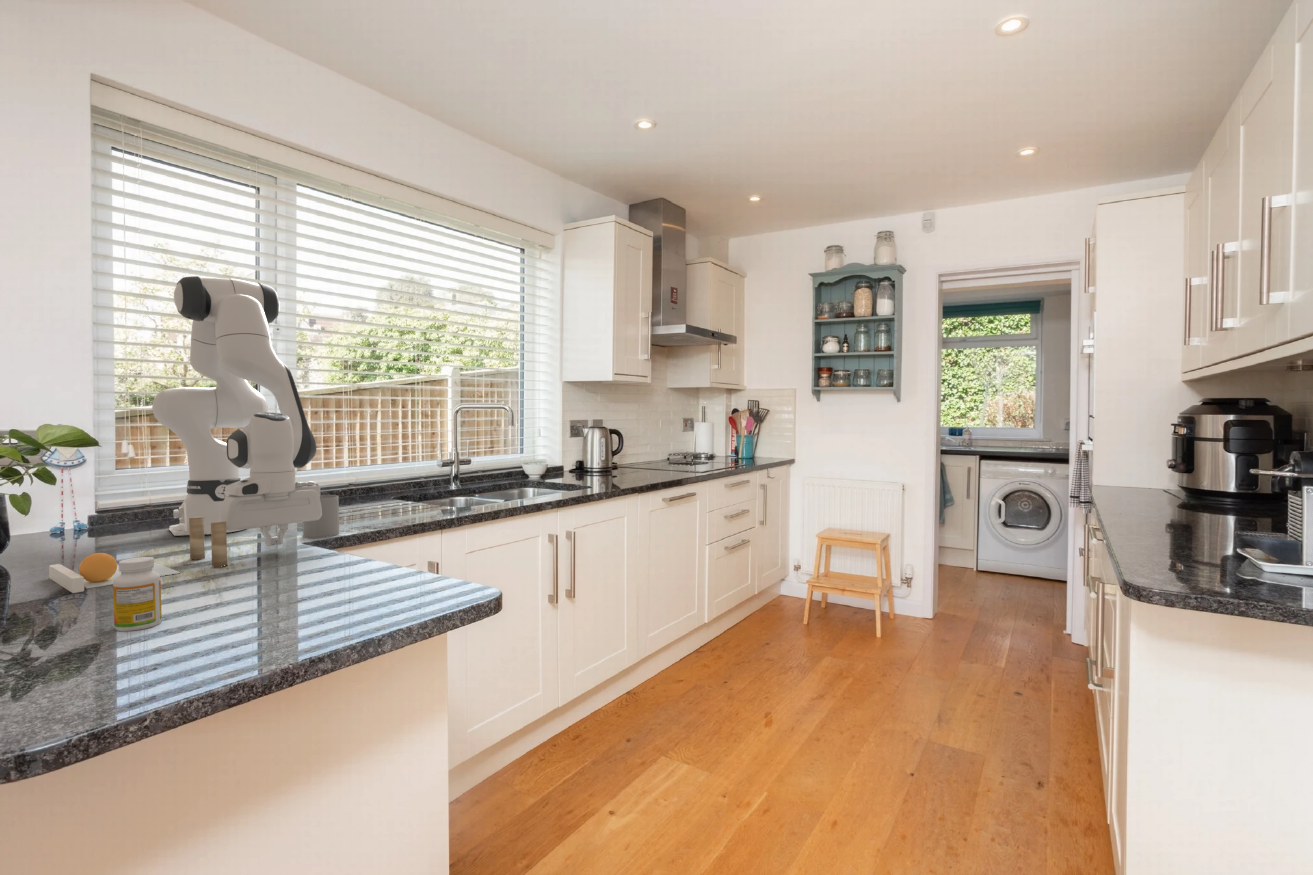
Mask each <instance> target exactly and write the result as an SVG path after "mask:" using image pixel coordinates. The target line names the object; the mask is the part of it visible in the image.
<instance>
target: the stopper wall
mask: <svg viewBox="0 0 1313 875" xmlns="http://www.w3.org/2000/svg"><path fill="white" fill-rule="evenodd" d="M48 570H49V571H48V572H49V579H50V580H51V581H53V582H55V583H56V584H58V585H59V586H61V587H62V588H64V589H65V590H67V591H69V592H70V593H71V594H75V593H83V592H85V587H84V577H82V576H81V575H80V573H77V572H75V571H73V570H72V569H69V568H68V567H66V566H65V565H62V564H61V563H56V564H49V565H48Z"/></svg>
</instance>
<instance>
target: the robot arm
mask: <svg viewBox="0 0 1313 875" xmlns="http://www.w3.org/2000/svg"><path fill="white" fill-rule="evenodd" d="M173 291H174V292H173V301H174V305H175V306H176V309H177V312H178V314H180V315H181V316H182V317H183V318H186V319H188V320H192V324H191V325H192V326H191V332H190V336H191V337H190V350H189V351H190V352H189V363H190V366H191V368H192V369H193V370H194V371H195V372H197V373H198V374H200V375H202V376H203V377H205V378H208V379H210V380H212V381H215V383H216V385H215V386H214V387H213V386H212V387H202V386H201V387H199V386H198V387H195V386H180V387H173V388H165V389H162V390H161V391H159V392H158V393H157V394H156V396H155V397H154V399H153V401H152V409H151V410H152V413H153V416H154V418H155V419H156V421H157V422H158V423H160V425H162V426H163V427H165V428H167V429H169V430H170V431H171V432H172V433H173V434H175V435H176V436H177V437H178V438H179V439H180V441H181V442H182V444H183V446H184V448H185V450H186V454H187V460H188V461H187V462H188V470H189V471H188V472H189V475H188V476H189V479H188V481H187V483H186V484H187V485H186V494H187V495H186V497H185V499H184V500H183V502H182V503H181V505H180V506H179V507H178V509H174V510H172V515H173V516H172V517H173V518H174V519H178V524H172V525H169V527H168V530H169V531H170V532H171V534H172V535H173V536H190V534H189V518H190V517H204V536H205V535H211V523H213V522H226V533H232V532H233V533H234V532H238V531H239V532H240V531H243V530H248V529H256V528H258V529H259V531H260V533H261V534H262V536H263V537H264V538H265V544H266V547H272V546H277V545H278V546H279V545H283V544H284V536H285V535H286V533H287V532H288V530H289V524H296V523H303V522H306V521H314V520H319V519H320V517H321V516H322V508H321V502H320V495H321V486H320V485H319V484H318V483H316V482H315V481H312V480H310V481H304V482H303V481H301V482H300V481H298V482H297V481H296V469H301V468H304V467H305V466H306V465H308V464H309V463H310V462H311V461H312V460H313V459H314V457H315V456H316V453H317V443H316V438H315V436H314V434H313V432H312V431H311V428H310V425H309V423H308V422H307V417H306V414H305V411H304V408H303V405H302V402H301V398H300V395H299V392H298V388H297V385H296V382H295V379H294V376H293V374H292V372H291V370H290V367H289V366H288V365H287V364H286V363H284V362H282V361H281V360H280V358H278V356H277V354H276V352H275V350H274V348H273V345H272V340H271V332H270V328H269V324H271V323H273V322H274V321H276V320H277V319H278V317H279V313H280V306H281V305H280V300H279V295H278V293H277V291H276V290H275V289H274V287H272V286H271V285H268V284H265V283H262V282H251V281H246V280H242V279H238V278H237V279H236V278H229V277H228V278H223V277H222V278H218V277H200V276H197V275H195V276H183V277H182V278H180V279H179V280H178V281H177V282H176V286H175V288H174V290H173ZM249 382H251V383H254V384H256V385H259V386H261V387H263V388H264V389H267V390H268V391H269V392H270V393H271V394H272V395H273V396H274V398H275V400H276V402H277V406H278V409H279V412H268V410H269V408H268V402H267V400H266V398H265V397H264V395H263V394H262V393H260V392H259V391H258V390H257V389H255V388H254V387H253V386H251V384H250V383H249ZM230 428H231V429H233V428H235V430H234V431H233V432H232V433H231V434H230V435H228V437H227V439H226V442H225V441H223V440H221V439H218V438H216V437H214V435H213V433H212V429H230ZM241 468H242V469H249V477H246V478H244V479H241V477H240V476H239V474H240V473H239V472H240V471H239V469H241ZM274 526H277V529H279V530H278V532H277V535H275V536H272V535H271V534H270V533H269V532H271V531H272V528H271V527H274Z"/></svg>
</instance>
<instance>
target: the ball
mask: <svg viewBox="0 0 1313 875" xmlns="http://www.w3.org/2000/svg"><path fill="white" fill-rule="evenodd" d="M117 569H118V562H117V560H116V558H115V557H114V556H113V555H111V554H108V553H106V552H105V553H104V552H95V553H92V554H89V555H88V556H86V557H85V558H83V560H81V562H80V564H79V566H78V572H79V573H78V574H79V575H81V576H82V577H84V579H85V580H86V581H89V582H102V581H105V580H107V579H109V578H111V577H112V576H113V575H114V574H115V572H116V570H117Z"/></svg>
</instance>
